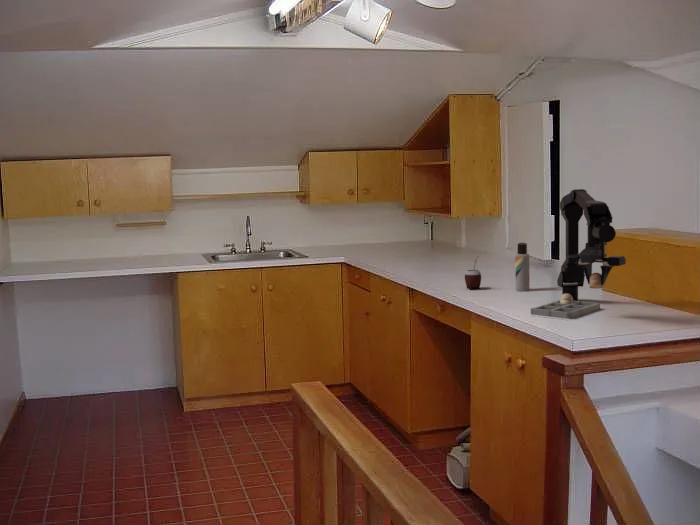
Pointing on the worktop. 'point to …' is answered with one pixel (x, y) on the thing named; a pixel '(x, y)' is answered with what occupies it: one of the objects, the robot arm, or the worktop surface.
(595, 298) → the worktop surface
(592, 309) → the grey egg tray
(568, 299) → the beige rounded cylinder
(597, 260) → the robot arm
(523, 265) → the lotion bottle
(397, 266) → the worktop surface
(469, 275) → the mate gourd
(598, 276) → the brown egg
